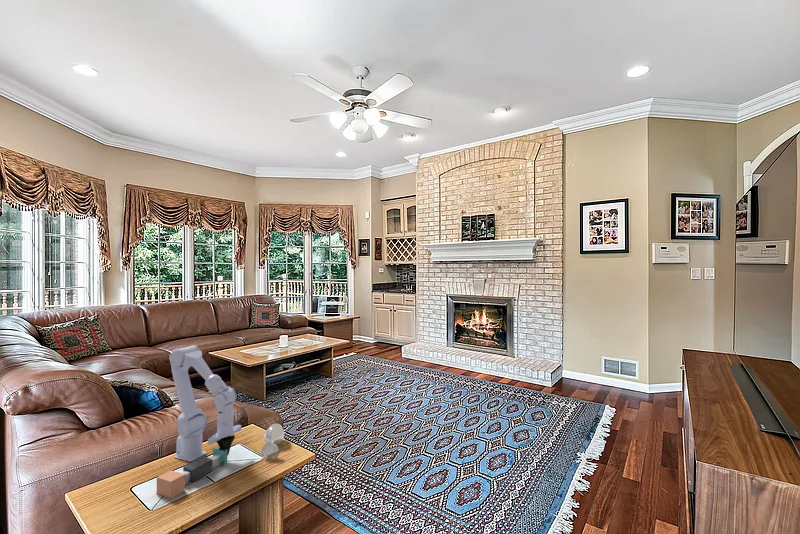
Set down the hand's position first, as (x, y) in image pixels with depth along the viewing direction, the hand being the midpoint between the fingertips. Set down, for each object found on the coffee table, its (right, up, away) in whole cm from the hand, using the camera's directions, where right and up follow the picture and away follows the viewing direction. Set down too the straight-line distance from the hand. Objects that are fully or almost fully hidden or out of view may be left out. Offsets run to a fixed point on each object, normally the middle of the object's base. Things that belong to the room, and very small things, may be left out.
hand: (225, 455), depth 149 cm
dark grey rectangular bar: (-5, -2, -11) cm, 12 cm away
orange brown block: (-9, -2, -21) cm, 23 cm away
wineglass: (+17, +1, +2) cm, 17 cm away
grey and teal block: (-4, -2, -9) cm, 10 cm away
